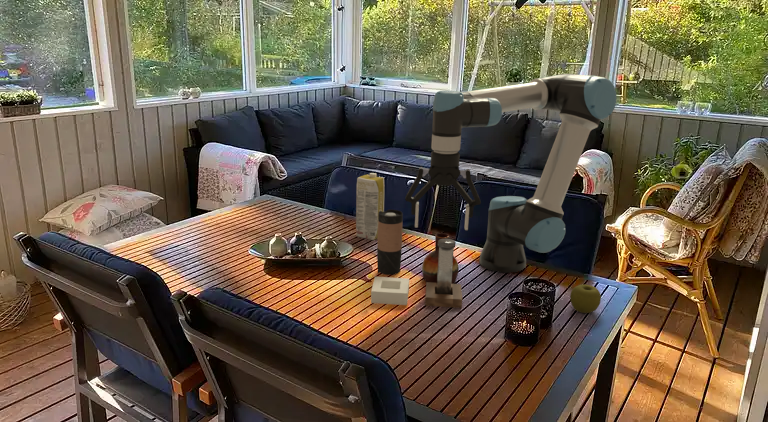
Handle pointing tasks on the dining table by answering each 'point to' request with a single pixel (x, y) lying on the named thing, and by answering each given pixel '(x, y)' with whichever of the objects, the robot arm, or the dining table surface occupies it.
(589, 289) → the apple
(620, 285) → the dining table surface
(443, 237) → the vase
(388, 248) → the travel mug
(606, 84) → the robot arm
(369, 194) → the juice carton
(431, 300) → the mount
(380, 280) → the socket
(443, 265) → the pin
